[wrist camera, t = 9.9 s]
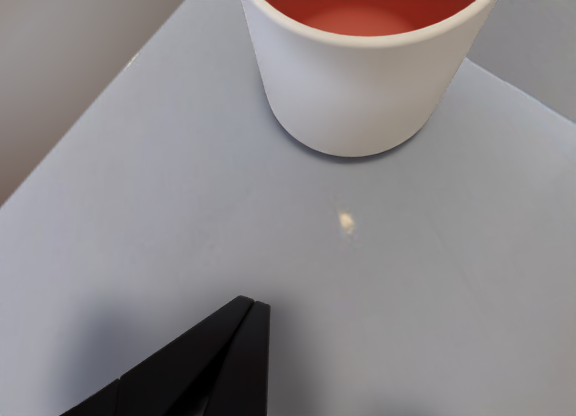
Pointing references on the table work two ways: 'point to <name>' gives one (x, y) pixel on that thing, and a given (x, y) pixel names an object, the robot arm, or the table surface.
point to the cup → (359, 65)
